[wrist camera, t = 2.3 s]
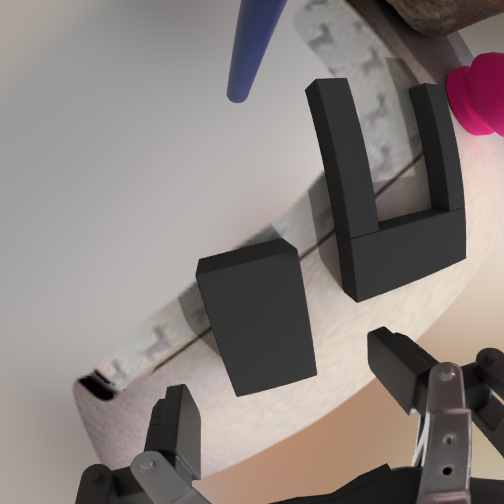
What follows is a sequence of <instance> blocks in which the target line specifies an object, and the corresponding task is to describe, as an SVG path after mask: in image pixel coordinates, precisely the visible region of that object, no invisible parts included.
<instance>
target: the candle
mask: <svg viewBox="0 0 504 504" xmlns="http://www.w3.org/2000/svg"><path fill="white" fill-rule="evenodd" d="M386 1H387V2H388V3H390V4H391V5H392V6H394V8H395V9H396V10H397V13H398V15H400V16H401V17H402V18H403V19H404V20H405V22H406V23H407V24H408V25H410V26H411V27H412V28H413V29H415V30H416V31H419V32H421V33H422V34H424V35H427V36H432V37H437V38H441V37H443V36H446V35H448V34H450V33H453V32H455V31H457V30H460V29H462V28H465V27H467V26H470V25H472V24H474V23H477V22H479V21H481V20H484V19H487V18H489V17H492V16H495V15H497V14H500V13H503V12H504V0H386Z"/></svg>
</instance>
